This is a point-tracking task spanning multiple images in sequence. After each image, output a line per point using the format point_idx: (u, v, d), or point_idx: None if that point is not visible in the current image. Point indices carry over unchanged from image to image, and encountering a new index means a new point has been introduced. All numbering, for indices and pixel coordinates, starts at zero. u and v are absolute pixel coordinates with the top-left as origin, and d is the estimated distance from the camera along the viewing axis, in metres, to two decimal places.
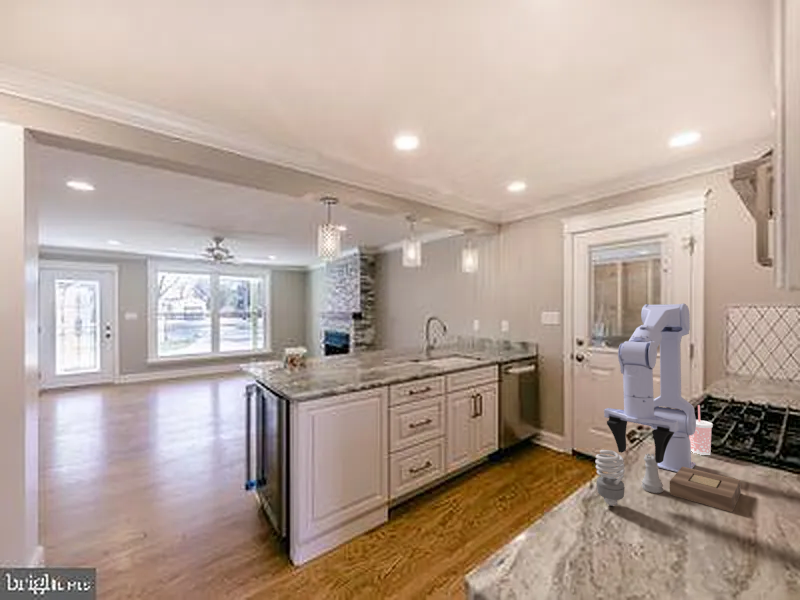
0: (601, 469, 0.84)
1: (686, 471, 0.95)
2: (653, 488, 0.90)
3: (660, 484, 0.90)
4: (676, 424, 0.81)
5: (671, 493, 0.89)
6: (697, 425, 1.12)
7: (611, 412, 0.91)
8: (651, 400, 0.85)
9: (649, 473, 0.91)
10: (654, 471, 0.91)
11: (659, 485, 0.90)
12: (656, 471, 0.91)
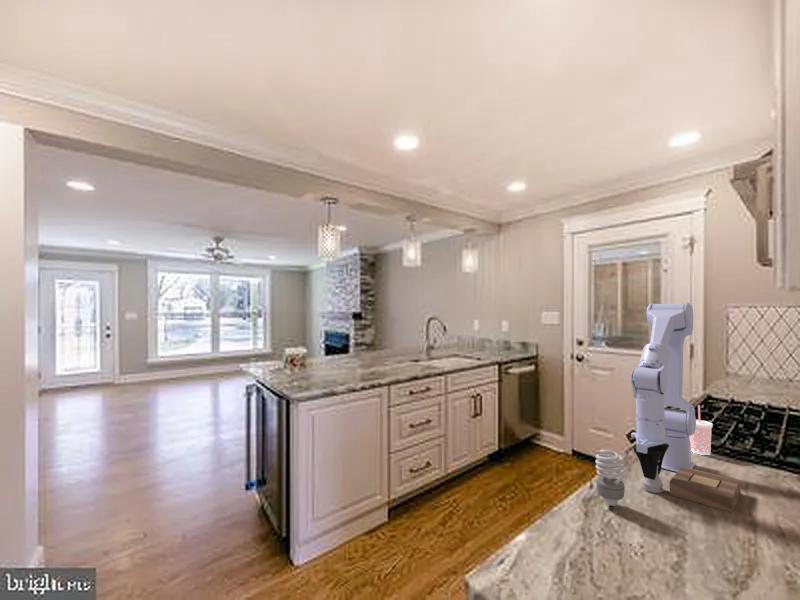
0: (601, 469, 0.84)
1: (686, 471, 0.95)
2: (653, 488, 0.90)
3: (660, 484, 0.90)
4: (640, 446, 0.87)
5: (671, 493, 0.89)
6: (697, 425, 1.12)
7: None
8: (644, 422, 0.91)
9: None
10: None
11: (659, 484, 0.90)
12: None
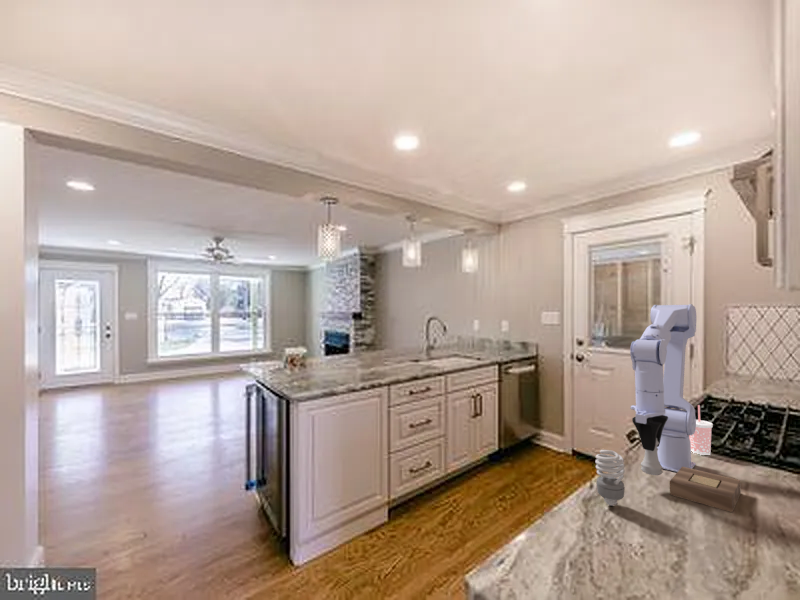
0: (601, 469, 0.84)
1: (686, 471, 0.95)
2: (652, 470, 0.90)
3: (659, 466, 0.90)
4: (639, 416, 0.88)
5: (671, 493, 0.89)
6: (697, 425, 1.12)
7: None
8: (643, 394, 0.91)
9: (648, 455, 0.91)
10: (653, 453, 0.91)
11: (658, 466, 0.90)
12: (655, 453, 0.91)
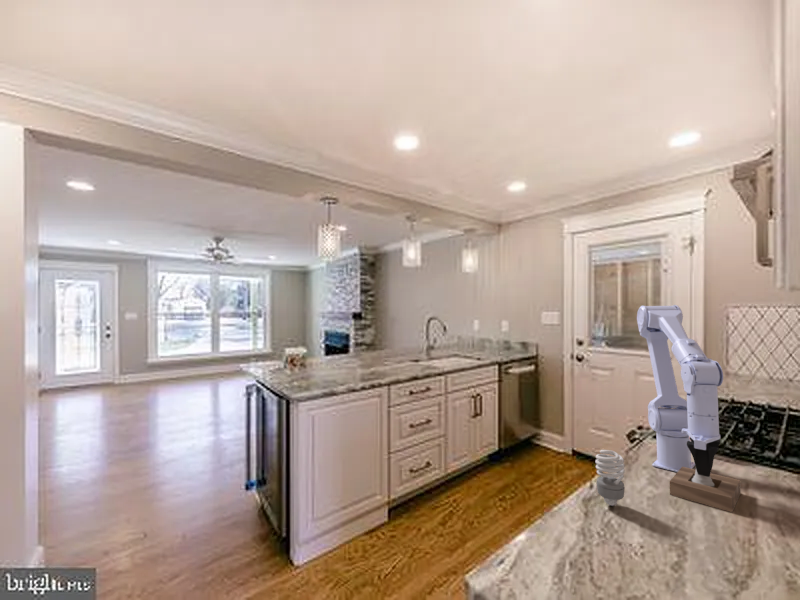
0: (601, 469, 0.84)
1: (686, 471, 0.95)
2: None
3: (712, 483, 0.88)
4: (699, 442, 0.84)
5: (671, 493, 0.89)
6: None
7: None
8: (699, 418, 0.88)
9: None
10: None
11: (711, 484, 0.88)
12: None
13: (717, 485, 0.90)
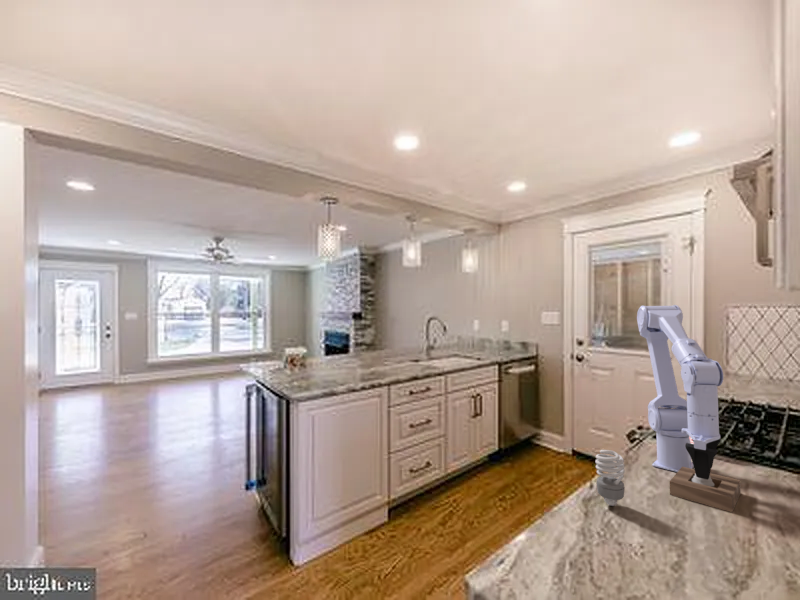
0: (601, 469, 0.84)
1: (686, 471, 0.95)
2: None
3: (712, 483, 0.88)
4: (699, 442, 0.84)
5: (671, 493, 0.89)
6: None
7: None
8: (699, 418, 0.88)
9: None
10: None
11: (711, 484, 0.88)
12: None
13: (717, 485, 0.90)
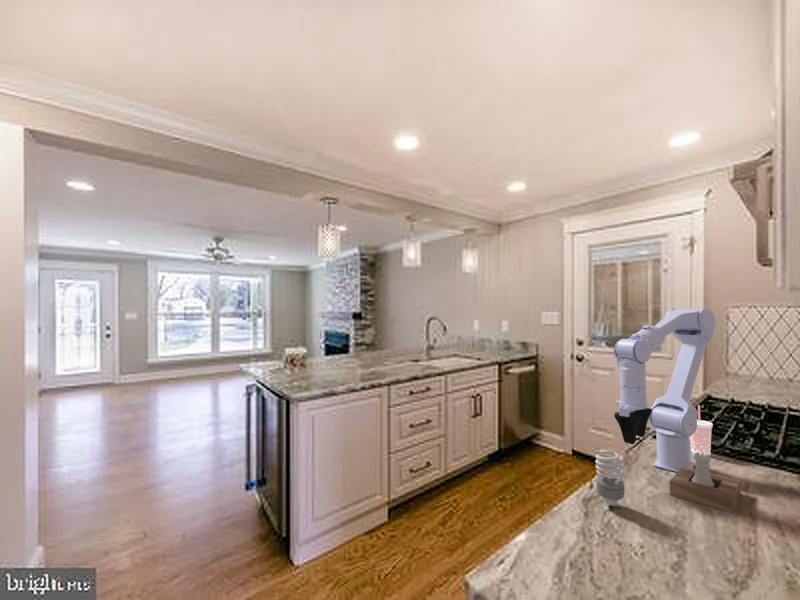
0: (601, 469, 0.84)
1: (686, 471, 0.95)
2: None
3: (712, 483, 0.88)
4: (623, 410, 0.95)
5: (671, 493, 0.89)
6: (697, 425, 1.12)
7: None
8: (627, 389, 0.98)
9: (700, 472, 0.89)
10: (706, 470, 0.89)
11: (711, 484, 0.88)
12: (707, 470, 0.89)
13: (717, 485, 0.90)
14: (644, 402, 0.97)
